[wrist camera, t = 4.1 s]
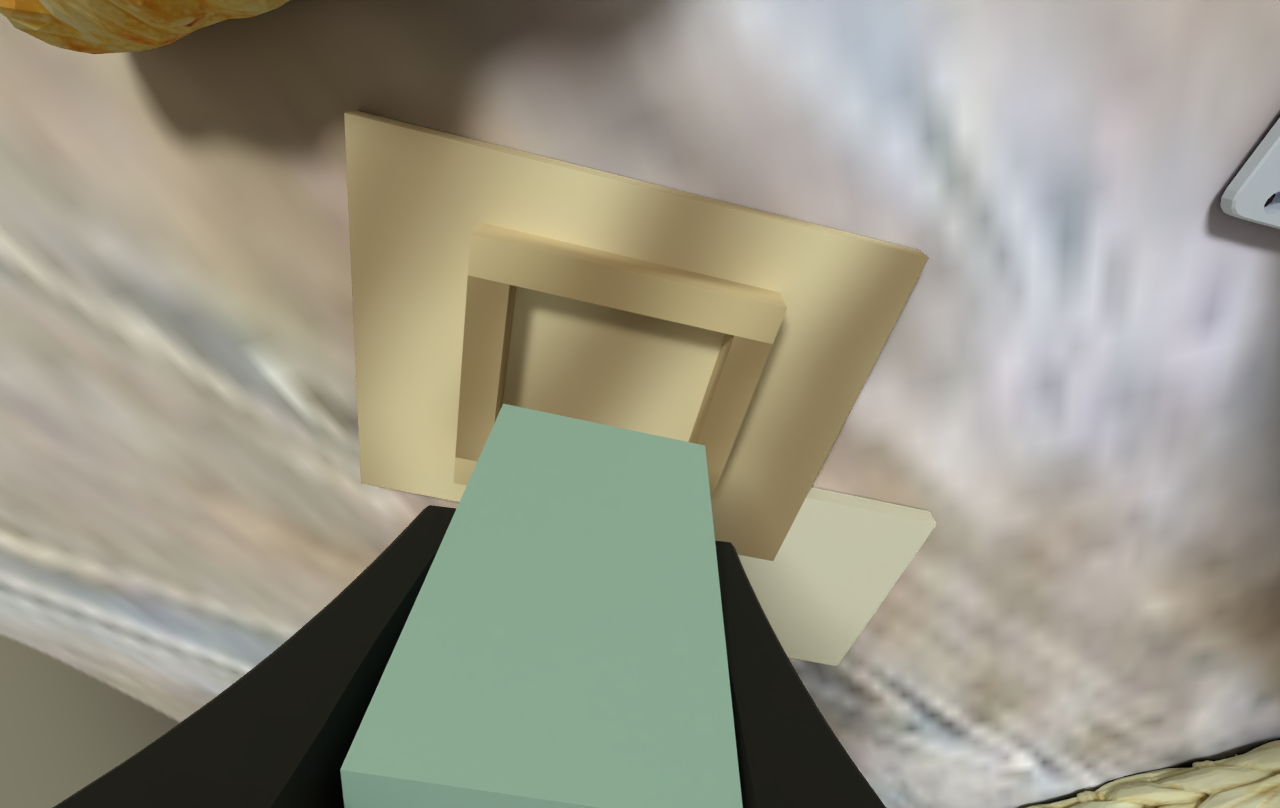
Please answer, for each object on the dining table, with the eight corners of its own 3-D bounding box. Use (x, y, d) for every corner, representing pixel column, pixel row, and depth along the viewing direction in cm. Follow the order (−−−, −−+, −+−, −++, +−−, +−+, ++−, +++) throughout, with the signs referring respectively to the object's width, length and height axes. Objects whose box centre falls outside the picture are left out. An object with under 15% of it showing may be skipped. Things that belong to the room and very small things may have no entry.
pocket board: (919, 250, 14) (946, 271, 13) (770, 548, 20) (778, 584, 19) (356, 109, 13) (321, 117, 12) (369, 471, 19) (346, 504, 18)
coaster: (929, 511, 19) (936, 524, 19) (833, 652, 23) (837, 665, 23) (699, 464, 18) (699, 476, 18) (642, 618, 23) (642, 632, 22)
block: (705, 445, 11) (744, 828, 6) (656, 578, 13) (652, 952, 8) (503, 403, 11) (340, 769, 5) (486, 547, 13) (356, 916, 8)
